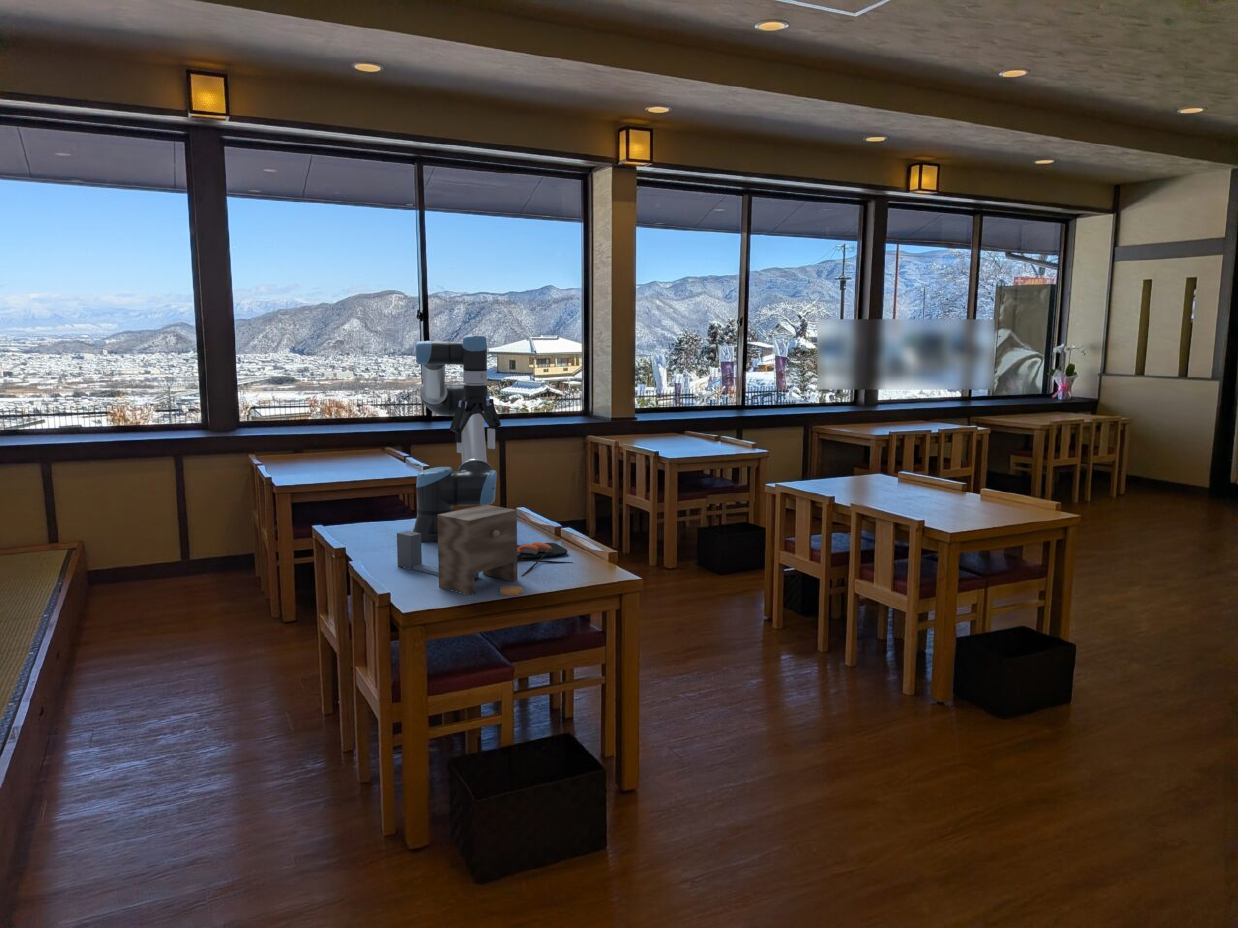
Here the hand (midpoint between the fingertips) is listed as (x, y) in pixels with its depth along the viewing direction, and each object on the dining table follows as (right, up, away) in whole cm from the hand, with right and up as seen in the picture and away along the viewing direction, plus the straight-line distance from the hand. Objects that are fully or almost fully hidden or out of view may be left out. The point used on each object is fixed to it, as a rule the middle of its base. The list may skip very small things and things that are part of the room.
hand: (476, 450), depth 275 cm
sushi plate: (+18, -34, -16) cm, 42 cm away
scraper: (-7, -35, -30) cm, 47 cm away
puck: (+17, -39, -48) cm, 64 cm away
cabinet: (+7, -37, -40) cm, 55 cm away
